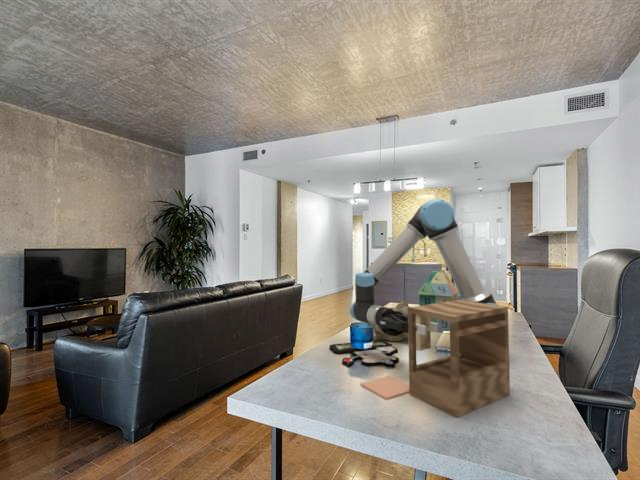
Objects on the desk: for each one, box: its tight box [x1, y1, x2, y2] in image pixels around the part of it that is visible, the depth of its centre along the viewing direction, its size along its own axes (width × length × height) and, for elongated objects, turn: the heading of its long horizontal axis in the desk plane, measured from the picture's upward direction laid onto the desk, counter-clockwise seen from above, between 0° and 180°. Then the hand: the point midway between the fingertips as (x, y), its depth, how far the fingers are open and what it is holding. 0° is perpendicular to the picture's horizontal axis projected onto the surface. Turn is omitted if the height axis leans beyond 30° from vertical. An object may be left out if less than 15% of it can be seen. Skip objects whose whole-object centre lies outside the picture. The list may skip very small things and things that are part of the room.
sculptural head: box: [373, 300, 410, 342], centre depth 163 cm, size 17×21×25 cm
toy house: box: [417, 269, 460, 334], centre depth 178 cm, size 17×16×30 cm
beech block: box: [407, 314, 432, 352], centre depth 113 cm, size 5×5×12 cm
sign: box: [329, 339, 400, 369], centre depth 137 cm, size 27×2×30 cm
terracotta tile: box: [359, 375, 409, 401], centre depth 106 cm, size 12×12×1 cm
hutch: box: [408, 299, 511, 418], centre depth 101 cm, size 24×16×26 cm, turn 121°
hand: (431, 329), depth 109 cm, fingers closed on beech block, 5 cm apart
